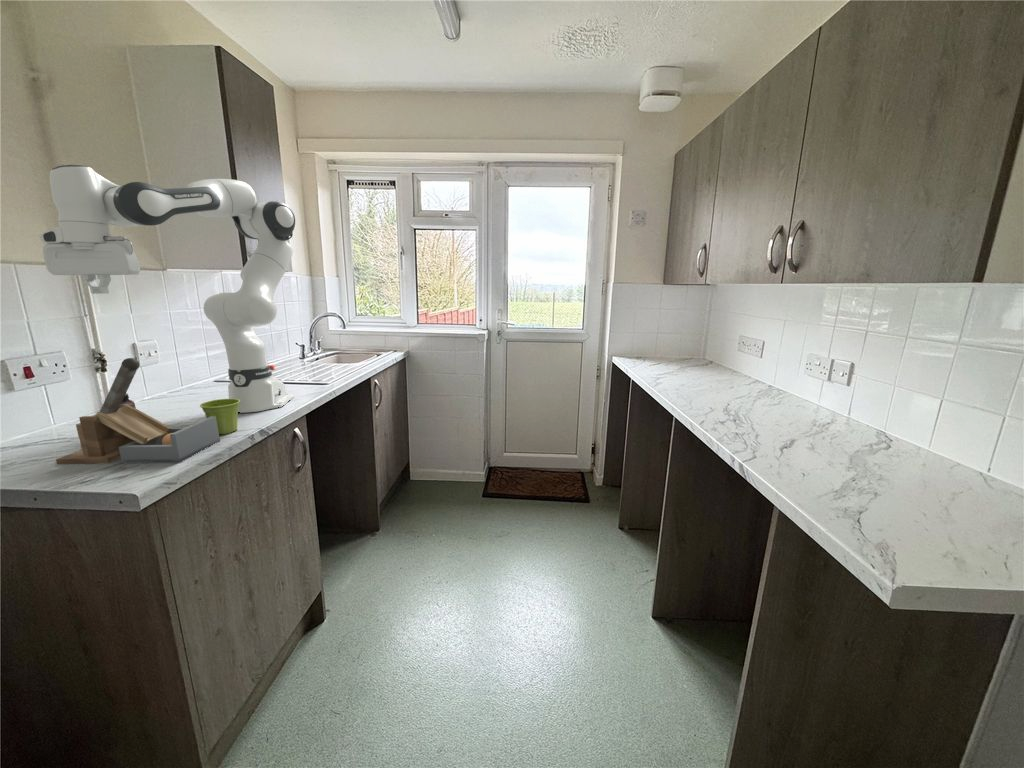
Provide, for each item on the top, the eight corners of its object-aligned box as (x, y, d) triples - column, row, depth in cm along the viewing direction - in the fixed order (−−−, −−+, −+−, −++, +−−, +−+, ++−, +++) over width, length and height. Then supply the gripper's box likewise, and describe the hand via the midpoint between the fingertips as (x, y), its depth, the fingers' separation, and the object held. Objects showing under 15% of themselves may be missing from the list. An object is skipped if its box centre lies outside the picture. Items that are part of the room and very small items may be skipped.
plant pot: (237, 424, 126) (233, 396, 124) (249, 430, 120) (244, 401, 118) (200, 432, 119) (195, 403, 117) (211, 439, 113) (205, 409, 111)
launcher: (116, 407, 106) (142, 352, 103) (167, 435, 108) (194, 382, 105) (83, 417, 98) (110, 358, 95) (139, 448, 100) (167, 390, 97)
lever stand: (111, 442, 111) (102, 403, 109) (156, 442, 111) (148, 402, 109) (56, 464, 98) (44, 419, 95) (108, 463, 98) (97, 418, 95)
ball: (188, 443, 106) (174, 447, 107) (182, 429, 106) (167, 432, 106) (176, 449, 103) (161, 453, 103) (169, 434, 102) (154, 438, 102)
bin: (169, 441, 112) (163, 417, 110) (220, 441, 112) (215, 416, 110) (122, 463, 98) (115, 435, 96) (180, 462, 98) (174, 434, 97)
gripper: (140, 237, 106) (151, 293, 109) (59, 238, 105) (72, 293, 108) (118, 234, 99) (130, 293, 103) (31, 235, 99) (46, 294, 102)
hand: (100, 293), depth 105 cm, fingers closed
